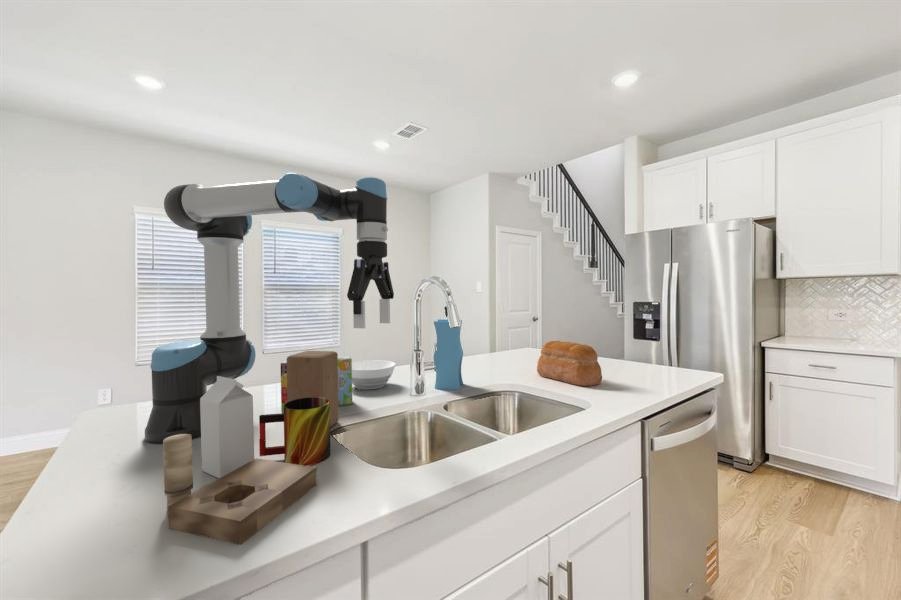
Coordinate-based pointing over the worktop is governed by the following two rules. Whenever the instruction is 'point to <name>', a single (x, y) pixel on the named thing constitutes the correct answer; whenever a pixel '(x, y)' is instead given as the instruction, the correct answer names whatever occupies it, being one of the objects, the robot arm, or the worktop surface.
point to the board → (242, 500)
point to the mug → (301, 431)
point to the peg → (177, 467)
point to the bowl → (371, 373)
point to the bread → (570, 363)
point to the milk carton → (226, 427)
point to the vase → (448, 356)
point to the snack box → (343, 381)
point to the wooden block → (314, 378)
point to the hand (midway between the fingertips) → (373, 325)
